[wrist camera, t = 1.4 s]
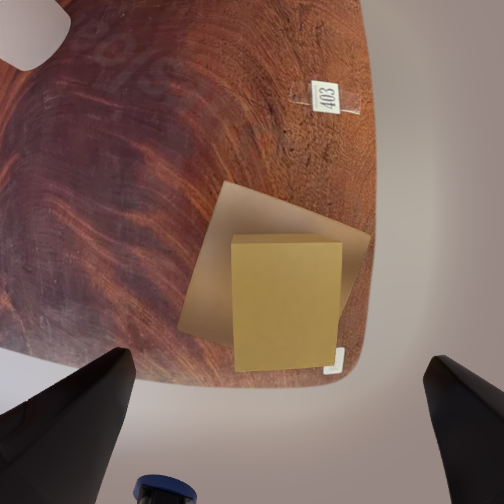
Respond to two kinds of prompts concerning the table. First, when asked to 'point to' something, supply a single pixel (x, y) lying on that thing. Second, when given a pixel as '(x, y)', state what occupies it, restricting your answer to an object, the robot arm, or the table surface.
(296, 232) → the stand
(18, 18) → the cup
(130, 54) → the table surface
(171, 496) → the robot arm
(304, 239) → the cheese
